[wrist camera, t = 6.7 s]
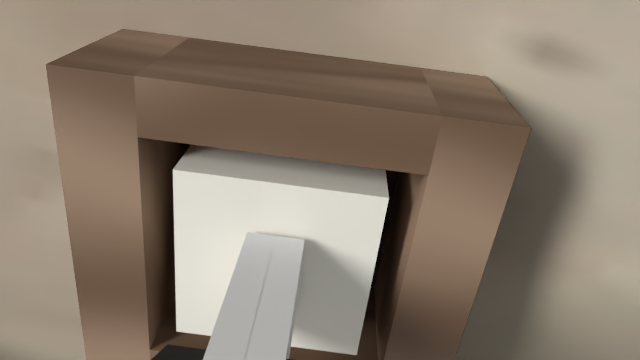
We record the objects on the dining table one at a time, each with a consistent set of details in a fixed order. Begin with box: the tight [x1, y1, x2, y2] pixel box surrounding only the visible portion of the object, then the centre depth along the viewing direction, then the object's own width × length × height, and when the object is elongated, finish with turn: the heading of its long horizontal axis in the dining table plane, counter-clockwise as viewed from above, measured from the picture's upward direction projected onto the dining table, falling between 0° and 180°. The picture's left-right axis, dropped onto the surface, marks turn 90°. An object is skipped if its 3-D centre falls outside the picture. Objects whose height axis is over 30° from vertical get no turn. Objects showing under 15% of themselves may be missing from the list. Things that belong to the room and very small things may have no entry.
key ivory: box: [173, 144, 389, 355], centre depth 15 cm, size 5×5×4 cm
